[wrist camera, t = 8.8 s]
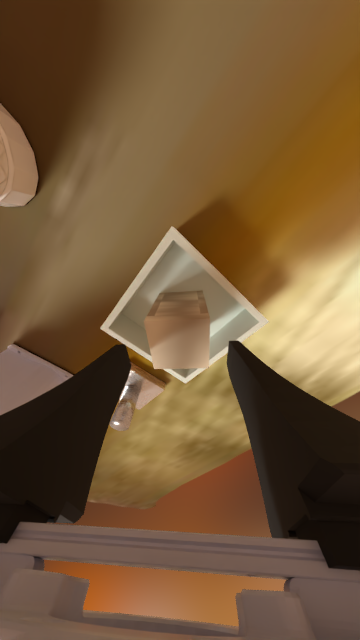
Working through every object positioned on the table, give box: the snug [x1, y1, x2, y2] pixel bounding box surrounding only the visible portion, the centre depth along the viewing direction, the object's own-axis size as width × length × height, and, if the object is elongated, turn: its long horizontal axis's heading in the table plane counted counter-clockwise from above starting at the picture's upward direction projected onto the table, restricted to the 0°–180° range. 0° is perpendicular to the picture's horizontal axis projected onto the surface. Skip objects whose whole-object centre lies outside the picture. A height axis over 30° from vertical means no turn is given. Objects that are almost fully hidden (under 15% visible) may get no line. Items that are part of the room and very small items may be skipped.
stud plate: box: [110, 362, 166, 431], centre depth 21 cm, size 7×7×6 cm
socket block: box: [144, 290, 210, 369], centre depth 14 cm, size 5×5×6 cm
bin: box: [100, 226, 269, 383], centre depth 16 cm, size 11×11×4 cm
